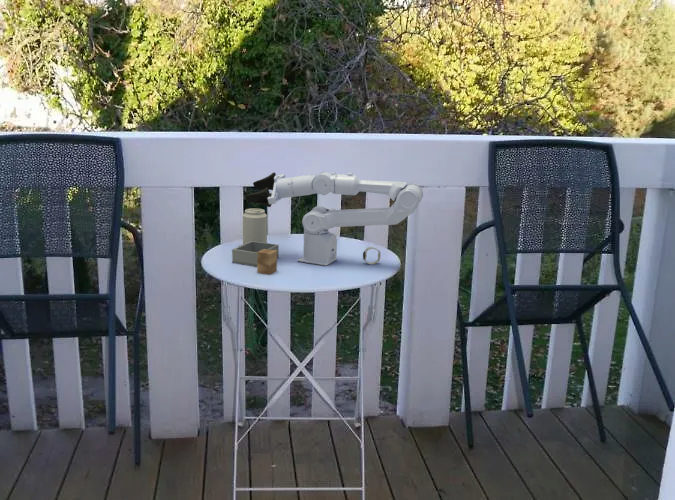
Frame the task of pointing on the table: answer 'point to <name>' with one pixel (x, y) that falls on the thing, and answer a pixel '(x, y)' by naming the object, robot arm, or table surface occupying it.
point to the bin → (251, 252)
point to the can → (254, 226)
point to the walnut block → (267, 261)
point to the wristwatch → (366, 255)
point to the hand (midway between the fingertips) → (250, 192)
